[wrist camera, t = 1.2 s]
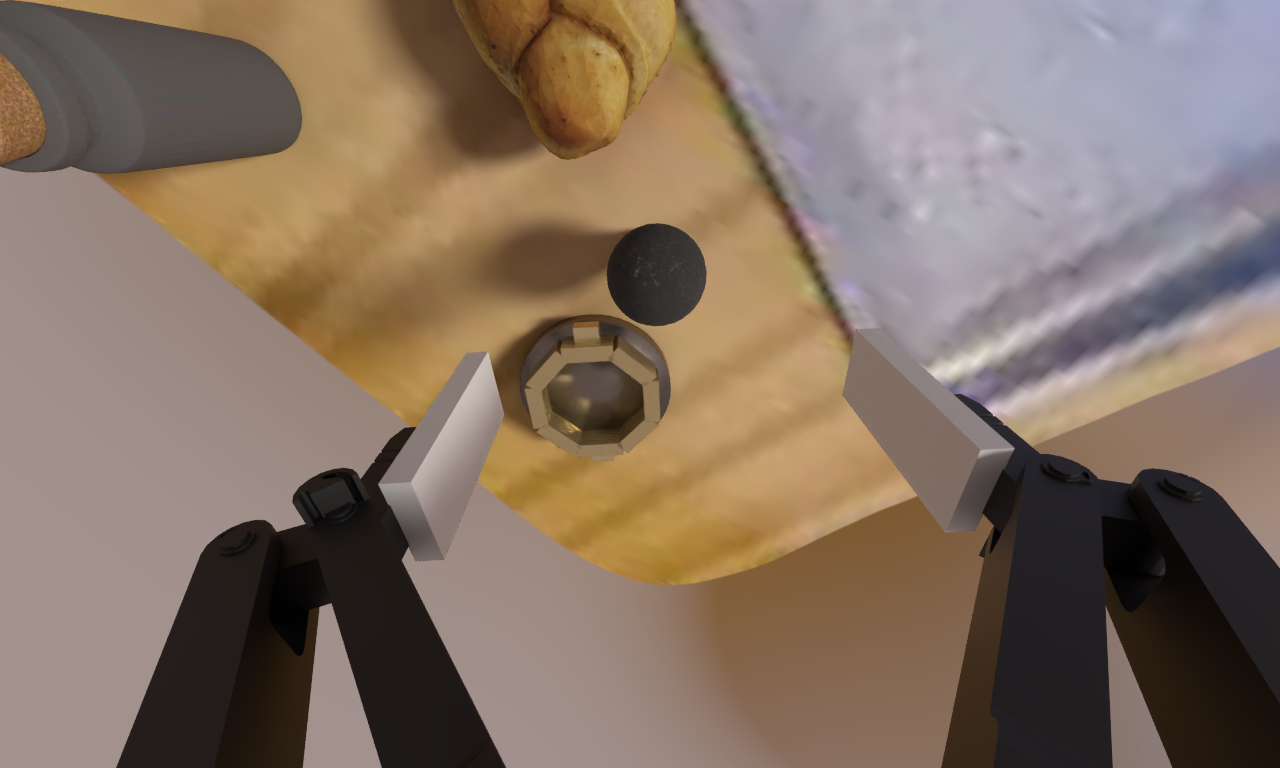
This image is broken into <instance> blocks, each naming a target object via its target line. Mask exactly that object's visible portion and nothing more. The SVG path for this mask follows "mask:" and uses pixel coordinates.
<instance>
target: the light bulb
mask: <svg viewBox="0 0 1280 768" xmlns="http://www.w3.org/2000/svg"><path fill="white" fill-rule="evenodd" d="M607 281H608V288H609V291H610V294H611V296H612V298H613V300H614V302H615V304H616V305H617V306H618V307H619V309H620V310H621V311H622V312H623V313H624V314H625V315H626V316H628V317H629V318H630V319H632V320H634V321H636V322H638V323H641V324H645V325H650V326H664V325H668V324H671V323H675V322H677V321H679V320H681V319H682V318H684V317H685V316H686V315H688V314H689V313H690V312H691V311H692V310H693V309H694V308H695V307H696V305H697V304H698V302H699V300H700V299H701V296H702V294H703V291H704V288H705V284H706V266H705V261H704V257H703V255H702V253H701V250H700V248H699V247H698V245H697V244H696V243H695V241H694V240H693V239H692V238H691V237H690V236H689V235H688V234H686V233H685V232H683V231H682V230H680V229H678V228H676V227H673V226H670V225H666V224H659V223H658V224H647V225H644V226H641V227H638V228H636V229H634V230H632V231H631V232H629V233H628V234H626V235H625V236H624V237H623V238H622V239H621V240H620V241H619V243H618V244H617V245H616V247H615V248H614V250H613V252H612V254H611V256H610V259H609V262H608V268H607Z"/></svg>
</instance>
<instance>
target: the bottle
mask: <svg viewBox="0 0 1280 768" xmlns="http://www.w3.org/2000/svg"><path fill="white" fill-rule="evenodd" d="M301 121H302V116H301V108H300V103H299V100H298V97H297V94H296V92H295V90H294V88H293V86H292V84H291V82H290V81H289V79H288V78H287V76H286V75H285V74H284V72H283V71H282V70H281V68H280V67H279V66H278V65H277V64H276V63H275V62H274V61H273V60H272V59H271V58H270V57H269V56H267V55H266V54H265V53H264V52H262V51H261V50H259V49H258V48H256V47H254V46H252V45H250V44H248V43H245V42H243V41H240V40H236V39H232V38H228V37H223V36H218V35H213V34H208V33H203V32H197V31H192V30H186V29H180V28H175V27H169V26H164V25H158V24H153V23H147V22H142V21H136V20H130V19H125V18H119V17H114V16H108V15H102V14H97V13H91V12H85V11H79V10H74V9H68V8H62V7H56V6H50V5H44V4H38V3H32V2H23V1H13V0H7V1H0V166H1V167H4V168H7V169H11V170H16V171H22V172H46V171H55V170H60V169H64V168H67V167H70V166H72V167H75V168H78V169H81V170H84V171H88V172H92V173H103V174H111V173H127V172H135V171H143V170H151V169H159V168H168V167H176V166H184V165H192V164H200V163H208V162H216V161H223V160H231V159H238V158H246V157H253V156H261V155H267V154H273V153H278V152H281V151H283V150H285V149H287V148H289V147H290V146H291V145H292V144H293V143H294V142H295V141H296V139H297V138H298V135H299V132H300V129H301Z"/></svg>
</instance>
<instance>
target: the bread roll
mask: <svg viewBox="0 0 1280 768" xmlns="http://www.w3.org/2000/svg"><path fill="white" fill-rule="evenodd" d="M452 1H453V5H454V7H455V10H456V12H457V14H458V16H459V18H460V20H461V22H462V24H463V26H464V28H465V30H466V32H467V34H468V36H469V38H470V39H471V41H472V43H473V45H474V47H475V49H476V51H477V52H478V54H479V55H480V57H481V58H482V60H483V61H484V62H485V64H486V65H487V66H488V67H489V68H490V69H491V70H492V71H493V72H494V73H495V75H496V76H497V78H498V79H499V81H500V82H501V83H502V84H503V85H504V86H505V87H506V88H507V89H508V90H509V91H510V92H511V93H512V94H513V95H514V96H515V98H516V99H517V100H518V102H519V103H520V105H521V106H522V107H524V112H525V114H526V117H527V119H528V121H529V124H530V126H531V128H532V131H533V132H534V134H535V135H536V136H537V137H538V139H539V140H540V141H541V142H542V144H543V145H544V146H545V147H546V148H547V149H548V150H549V152H551V153H553V154H554V155H556V156H558V157H559V158H561V159H567V160H570V159H576V158H579V157H582V156H585V155H587V154H589V153H590V152H593V151H596V150H597V149H600V148H603V147H606V146H607V145H609V144H611V143H612V142H613V141H614V140H615V139H616V137H617V136H618V134H619V131H620V129H621V125H622V122H623V120H625V119H626V118H627V117H628V116H629V115H630V114H631V113H632V112H633V111H634V109H635V108H636V107H637V105H639V103H640V101H641V99H642V97H643V95H644V94H645V93H646V89H647V88H648V86H649V85H650V84H651V83H652V81H653V80H654V79H655V77H657V76H658V74H659V71H660V68H661V66H662V65H663V63H664V62H665V61H666V60H667V57H668V55H669V53H670V52H671V49H672V45H674V43H673V41H674V38H675V33H676V29H677V25H676V11H675V2H674V0H452Z"/></svg>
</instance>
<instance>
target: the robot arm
mask: <svg viewBox="0 0 1280 768" xmlns="http://www.w3.org/2000/svg"><path fill="white" fill-rule="evenodd" d="M843 396H844V398H845V399H846V400H847V402H848V403H849V404H850V406H851V407H852V408H853V410H854V411H855V412H856V414H857V415H858V416H859V418H860V419H861V420H862V422H863V423H864V424H865V426H866V427H867V428H868V430H869V431H870V432H871V434H872V435H873V436H874V438H875V439H876V440H877V442H878V443H879V444H880V446H881V447H882V448H883V450H884V451H885V452H886V454H887V455H888V456H889V458H890V459H891V460H892V462H893V463H894V464H895V466H896V467H897V468H898V470H899V471H900V473H901V474H902V475H903V477H904V478H905V479H906V481H907V482H908V483H909V485H910V486H911V487H912V489H913V490H914V491H915V493H916V494H917V495H918V497H919V498H920V499H921V501H922V502H923V503H924V505H925V506H926V507H927V509H928V510H929V511H930V513H931V514H932V515H933V517H934V518H935V519H936V520H937V522H938V523H939V524H940V526H941V527H942V528H943V530H944V531H945V532H964V531H975V530H976V528H977V526H978V524H979V522H980V520H981V517H982V515H983V514H984V515H985V516H986V517H987V518H988V520H989V521H990V522H991V523H992V524H993V525H994V526H993V528H992V530H991V532H990V534H989V536H988V538H987V540H986V542H985V544H984V546H983V548H982V550H981V552H980V554H979V556H981V557H983V558H984V561H983V567H982V571H981V576H980V581H979V586H978V591H977V596H976V601H975V605H974V610H973V615H972V620H971V625H970V630H969V635H968V640H967V644H966V649H965V654H964V660H963V665H962V669H961V674H960V679H959V684H958V688H957V694H956V698H955V703H954V708H953V713H952V718H951V723H950V728H949V733H948V738H947V742H946V747H945V752H944V757H943V762H942V767H941V768H1113V766H1112V742H1111V720H1110V699H1109V698H1110V697H1109V675H1108V653H1107V631H1106V609H1105V605H1106V607H1107V610H1108V612H1109V615H1110V617H1111V619H1112V622H1113V624H1114V626H1115V629H1116V632H1117V634H1118V636H1119V639H1120V641H1121V644H1122V646H1123V649H1124V651H1125V654H1126V656H1127V658H1128V661H1129V663H1130V666H1131V668H1132V671H1133V673H1134V675H1135V678H1136V680H1137V683H1138V685H1139V687H1140V690H1141V692H1142V695H1143V697H1144V700H1145V702H1146V704H1147V707H1148V709H1149V712H1150V714H1151V717H1152V719H1153V722H1154V724H1155V726H1156V729H1157V731H1158V733H1159V736H1160V739H1161V741H1162V743H1163V746H1164V748H1165V751H1166V753H1167V756H1168V758H1169V760H1170V763H1171V765H1172V768H1280V568H1279V567H1278V566H1277V564H1276V563H1275V562H1274V560H1273V559H1272V558H1271V557H1270V556H1269V554H1268V553H1267V552H1266V550H1265V549H1264V548H1263V547H1262V546H1261V544H1260V543H1259V542H1258V541H1257V539H1256V538H1255V537H1254V536H1253V534H1252V533H1251V532H1250V531H1249V529H1248V528H1247V527H1246V526H1245V525H1244V523H1243V522H1242V521H1241V520H1240V518H1239V517H1238V516H1237V515H1236V513H1235V512H1234V511H1233V510H1232V509H1231V507H1230V506H1229V505H1228V504H1227V502H1226V501H1225V500H1224V499H1223V497H1221V496H1220V495H1219V494H1218V493H1217V492H1216V491H1215V490H1214V489H1212V488H1210V487H1209V486H1207V485H1205V484H1204V483H1202V482H1200V481H1199V480H1197V479H1195V478H1192V477H1188V476H1187V475H1184V474H1182V473H1176V472H1172V471H1168V470H1162V469H1146V470H1142V471H1141V472H1140V473H1139V474H1138V475H1137V477H1136V478H1135V479H1134V481H1133V482H1132V484H1127V483H1121V482H1114V481H1107V480H1100V479H1098V478H1097V477H1096V476H1095V475H1094V474H1093V473H1092V472H1091V471H1090V470H1089V469H1087V468H1086V467H1084V466H1082V465H1080V464H1079V463H1077V462H1074V461H1072V460H1069V459H1067V458H1064V457H1060V456H1055V455H1050V454H1039V453H1038V452H1037V451H1036V450H1035V449H1034V448H1032V447H1031V446H1030V445H1029V444H1028V443H1026V442H1025V441H1024V440H1023V439H1022V438H1020V437H1019V436H1018V435H1017V434H1016V433H1014V432H1013V431H1012V430H1011V429H1010V428H1008V427H1007V426H1006V425H1005V426H1004V425H1003V422H1001V421H1000V420H999V419H998V418H997V417H995V416H993V414H992V413H991V412H989V411H988V410H987V409H986V408H985V407H983V406H982V405H981V404H980V403H978V402H976V401H974V400H972V399H970V398H968V397H966V396H964V395H962V394H955V395H954V394H952V393H951V392H950V391H949V390H948V389H947V388H946V387H944V386H943V385H942V384H941V383H940V382H939V381H938V380H936V379H935V378H934V377H933V376H932V375H931V374H930V373H928V372H927V371H926V370H925V369H924V368H923V367H922V366H920V365H919V364H918V363H917V362H916V361H915V360H914V359H912V358H911V357H910V356H909V355H908V354H907V353H906V352H904V351H903V350H902V349H901V348H900V347H899V346H898V345H896V344H895V343H894V342H893V341H892V340H891V339H890V338H888V337H887V336H886V335H885V334H884V333H883V332H882V331H880V330H879V329H878V328H873V329H856V332H855V337H854V342H853V347H852V352H851V356H850V361H849V366H848V371H847V376H846V381H845V385H844V390H843ZM503 417H504V412H503V408H502V404H501V400H500V396H499V393H498V389H497V385H496V381H495V377H494V373H493V370H492V366H491V362H490V358H489V354H488V352H476V353H466V355H465V356H464V358H463V359H462V361H461V362H460V364H459V365H458V367H457V368H456V370H455V371H454V373H453V374H452V376H451V377H450V378H449V380H448V381H447V383H446V384H445V386H444V387H443V389H442V390H441V392H440V393H439V395H438V396H437V398H436V399H435V401H434V402H433V404H432V405H431V407H430V408H429V410H428V411H427V413H426V414H425V416H424V417H423V418H422V420H421V421H420V423H419V424H418V426H417V427H409V428H404V429H402V430H401V431H400V432H399V433H398V434H396V435H395V436H393V437H392V438H391V439H390V440H389V441H388V443H387V444H386V445H385V447H384V448H383V450H382V453H380V454H379V455H378V456H377V458H376V459H375V463H372V464H371V466H370V467H369V469H368V470H367V471H366V473H365V474H364V475H363V477H362V478H361V480H360V478H359V476H358V474H357V473H356V472H355V471H354V470H353V469H348V468H339V469H332V470H329V471H326V472H323V473H320V474H318V475H317V476H315V477H313V478H311V479H309V480H308V481H306V482H305V483H304V484H303V485H302V486H300V487H299V488H298V490H297V491H296V492H295V494H294V495H293V504H294V506H295V507H296V509H297V511H298V512H299V514H300V515H301V517H302V518H303V520H304V522H305V523H306V524H304V525H301V526H297V527H294V528H290V529H286V530H283V531H279V532H276V531H275V529H274V528H273V526H272V525H271V524H270V523H269V522H267V521H265V520H253V521H249V522H244V523H242V524H239V525H237V526H234V527H232V528H230V529H228V530H226V531H225V532H223V533H221V534H220V535H218V536H217V537H216V538H215V539H214V540H212V541H211V542H210V543H209V544H208V545H207V546H206V547H205V549H204V551H203V552H202V553H201V555H200V558H199V560H198V563H197V565H196V568H195V570H194V573H193V575H192V578H191V580H190V583H189V586H188V588H187V591H186V593H185V596H184V598H183V601H182V603H181V606H180V608H179V611H178V613H177V616H176V618H175V621H174V624H173V626H172V628H171V631H170V634H169V636H168V638H167V641H166V643H165V646H164V648H163V651H162V654H161V656H160V659H159V661H158V664H157V666H156V669H155V671H154V674H153V676H152V679H151V681H150V684H149V686H148V689H147V691H146V694H145V697H144V699H143V701H142V704H141V707H140V709H139V712H138V714H137V717H136V720H135V722H134V724H133V727H132V729H131V732H130V735H129V737H128V739H127V742H126V744H125V747H124V750H123V752H122V754H121V757H120V760H119V762H118V765H117V767H116V768H303V759H304V750H305V741H306V731H307V721H308V711H309V702H310V693H311V683H312V674H313V664H314V655H315V645H316V636H317V626H318V616H319V607H321V606H324V605H327V604H330V603H332V606H333V609H334V612H335V616H336V619H337V622H338V625H339V629H340V632H341V636H342V639H343V642H344V645H345V649H346V652H347V655H348V658H349V662H350V665H351V668H352V672H353V675H354V678H355V681H356V685H357V688H358V691H359V694H360V697H361V701H362V704H363V707H364V711H365V714H366V717H367V720H368V724H369V727H370V730H371V734H372V737H373V740H374V744H375V747H376V750H377V753H378V756H379V760H380V763H381V766H382V768H506V767H505V765H504V763H503V761H502V759H501V757H500V755H499V753H498V751H497V749H496V747H495V745H494V743H493V741H492V739H491V737H490V735H489V733H488V731H487V729H486V727H485V725H484V723H483V721H482V719H481V717H480V715H479V713H478V711H477V709H476V707H475V705H474V703H473V701H472V699H471V697H470V695H469V693H468V691H467V689H466V687H465V685H464V683H463V681H462V679H461V677H460V675H459V673H458V671H457V669H456V667H455V665H454V663H453V661H452V659H451V657H450V655H449V653H448V651H447V649H446V647H445V645H444V643H443V642H442V640H441V637H440V636H439V634H438V632H437V630H436V628H435V626H434V624H433V622H432V620H431V618H430V616H429V614H428V612H427V610H426V608H425V606H424V604H423V602H422V600H421V598H420V596H419V594H418V592H417V590H416V588H415V586H414V584H413V582H412V580H411V578H410V576H409V574H408V572H407V570H406V568H405V566H404V564H403V562H402V558H403V556H404V554H405V552H406V550H407V548H408V547H409V549H410V551H411V553H412V555H413V557H414V559H415V561H429V560H444V559H445V557H446V554H447V552H448V550H449V547H450V545H451V542H452V540H453V538H454V535H455V533H456V530H457V528H458V525H459V523H460V521H461V518H462V516H463V513H464V511H465V509H466V506H467V504H468V501H469V499H470V496H471V494H472V492H473V489H474V487H475V484H476V482H477V480H478V477H479V475H480V472H481V470H482V467H483V465H484V463H485V460H486V458H487V455H488V453H489V451H490V448H491V446H492V443H493V441H494V438H495V436H496V434H497V431H498V429H499V426H500V424H501V422H502V419H503Z"/></svg>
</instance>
